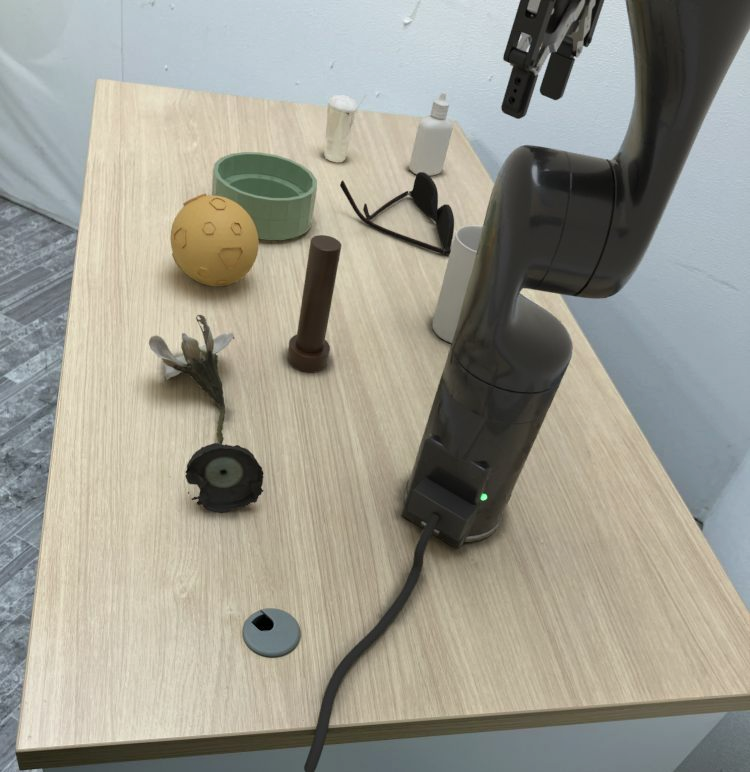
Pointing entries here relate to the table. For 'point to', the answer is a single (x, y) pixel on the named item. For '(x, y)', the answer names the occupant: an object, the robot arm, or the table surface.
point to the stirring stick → (315, 306)
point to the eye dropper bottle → (432, 139)
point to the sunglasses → (428, 203)
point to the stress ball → (214, 240)
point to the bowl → (268, 192)
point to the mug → (456, 281)
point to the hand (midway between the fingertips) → (531, 105)
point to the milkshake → (339, 126)
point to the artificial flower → (216, 461)
